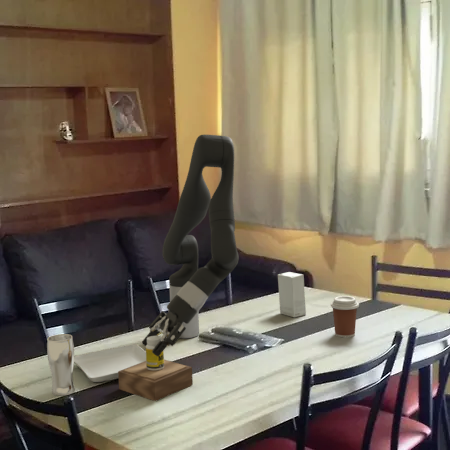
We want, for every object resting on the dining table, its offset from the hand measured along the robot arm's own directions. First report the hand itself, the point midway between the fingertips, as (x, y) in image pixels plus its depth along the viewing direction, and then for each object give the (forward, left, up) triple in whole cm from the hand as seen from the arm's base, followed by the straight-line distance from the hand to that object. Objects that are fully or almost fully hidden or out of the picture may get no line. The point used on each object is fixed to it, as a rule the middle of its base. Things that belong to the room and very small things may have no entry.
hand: (149, 349), depth 196 cm
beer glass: (-17, -16, -11) cm, 26 cm away
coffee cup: (+18, +70, -11) cm, 73 cm away
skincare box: (-10, +80, -11) cm, 82 cm away
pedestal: (+1, +1, -11) cm, 11 cm away
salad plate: (-20, +4, -11) cm, 23 cm away
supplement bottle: (0, +1, -6) cm, 6 cm away
